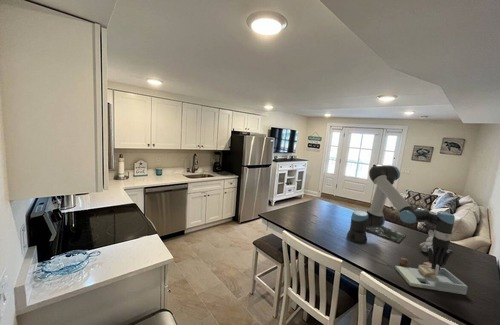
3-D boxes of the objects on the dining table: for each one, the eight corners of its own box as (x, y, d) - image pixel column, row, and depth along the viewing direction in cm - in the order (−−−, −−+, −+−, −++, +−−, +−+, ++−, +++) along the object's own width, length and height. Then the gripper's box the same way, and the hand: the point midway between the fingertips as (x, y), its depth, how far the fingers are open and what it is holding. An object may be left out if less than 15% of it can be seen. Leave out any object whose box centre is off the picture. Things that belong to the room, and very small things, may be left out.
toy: (437, 261, 147) (446, 245, 165) (439, 249, 146) (448, 234, 163) (416, 253, 157) (427, 239, 174) (418, 242, 155) (429, 229, 172)
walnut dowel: (401, 267, 133) (402, 260, 132) (398, 264, 137) (399, 257, 136) (408, 268, 132) (409, 261, 132) (404, 265, 136) (406, 258, 136)
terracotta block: (428, 271, 130) (429, 266, 130) (422, 268, 134) (423, 262, 134) (433, 271, 131) (434, 265, 131) (427, 267, 135) (428, 262, 135)
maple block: (424, 276, 122) (425, 272, 121) (418, 270, 128) (418, 266, 127) (435, 278, 121) (436, 274, 120) (428, 272, 127) (429, 267, 126)
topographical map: (398, 244, 166) (399, 240, 166) (357, 228, 191) (357, 225, 190) (406, 235, 183) (407, 232, 183) (367, 222, 208) (368, 219, 207)
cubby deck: (410, 285, 116) (411, 277, 115) (395, 268, 132) (396, 261, 131) (465, 294, 112) (467, 286, 111) (443, 275, 127) (444, 268, 127)
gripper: (434, 239, 118) (427, 276, 121) (459, 242, 116) (451, 280, 119) (425, 233, 125) (418, 268, 128) (448, 236, 123) (441, 271, 126)
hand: (434, 274), depth 124 cm, fingers closed
